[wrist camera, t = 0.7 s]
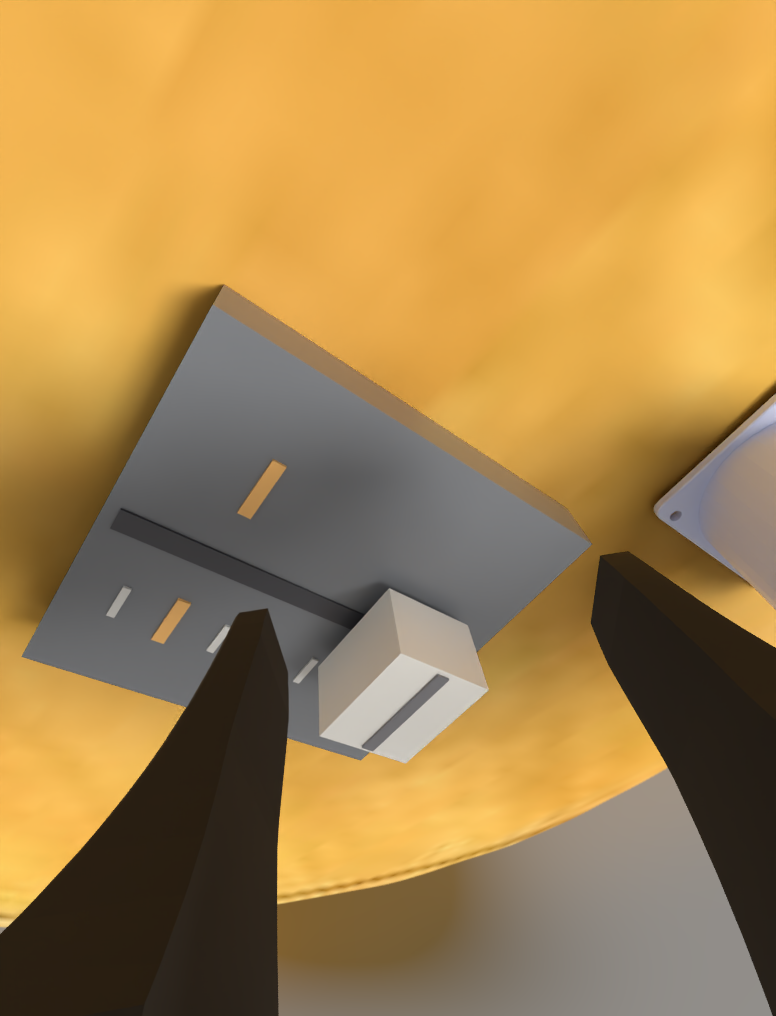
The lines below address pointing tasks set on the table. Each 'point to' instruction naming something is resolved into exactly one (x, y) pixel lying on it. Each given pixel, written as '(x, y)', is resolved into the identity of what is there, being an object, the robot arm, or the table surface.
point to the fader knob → (398, 679)
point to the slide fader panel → (290, 522)
